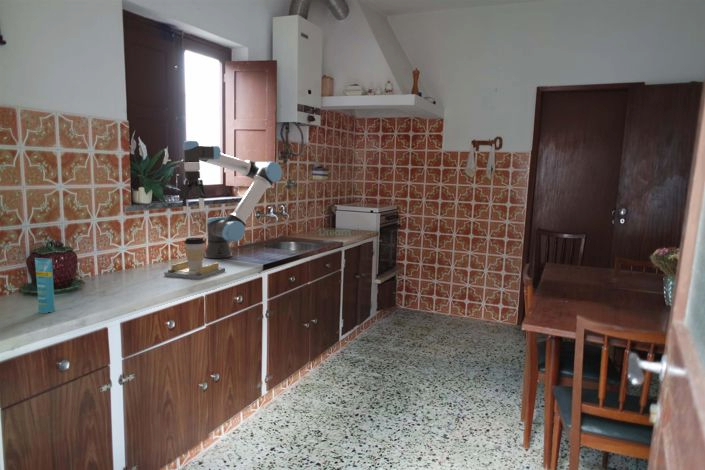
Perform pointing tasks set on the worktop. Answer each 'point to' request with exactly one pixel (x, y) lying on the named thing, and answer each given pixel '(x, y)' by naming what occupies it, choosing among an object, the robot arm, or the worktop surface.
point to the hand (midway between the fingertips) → (194, 211)
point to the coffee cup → (194, 252)
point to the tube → (45, 285)
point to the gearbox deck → (183, 271)
